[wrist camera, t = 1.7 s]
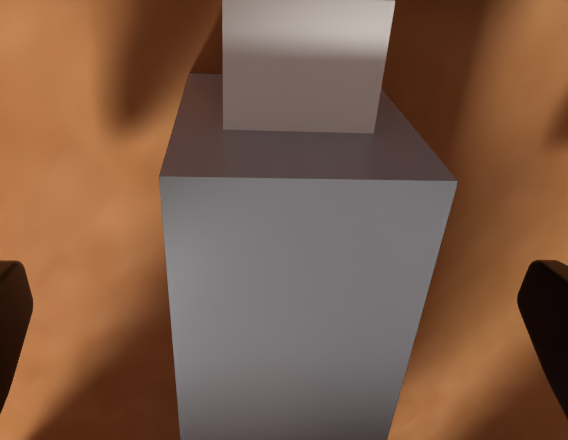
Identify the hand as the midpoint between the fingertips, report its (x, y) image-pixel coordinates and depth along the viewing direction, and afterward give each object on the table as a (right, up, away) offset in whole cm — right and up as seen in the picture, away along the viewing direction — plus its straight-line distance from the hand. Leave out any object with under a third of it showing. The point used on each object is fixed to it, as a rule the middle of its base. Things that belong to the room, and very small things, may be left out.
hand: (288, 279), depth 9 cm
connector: (0, +1, +2) cm, 3 cm away
